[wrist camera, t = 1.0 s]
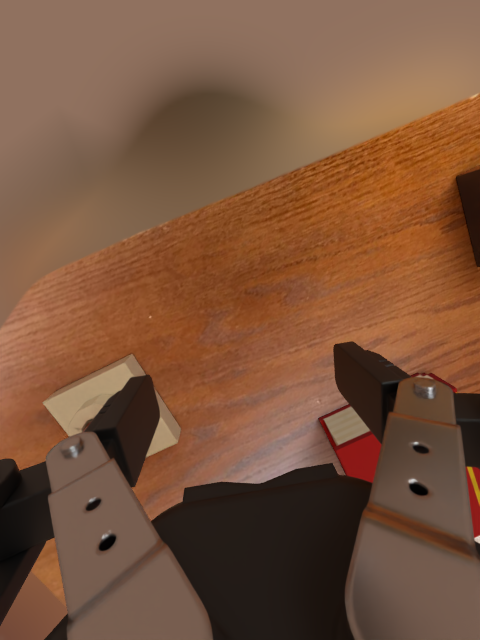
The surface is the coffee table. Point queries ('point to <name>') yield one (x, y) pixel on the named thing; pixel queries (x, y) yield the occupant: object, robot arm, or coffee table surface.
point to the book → (363, 450)
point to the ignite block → (92, 393)
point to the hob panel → (471, 205)
